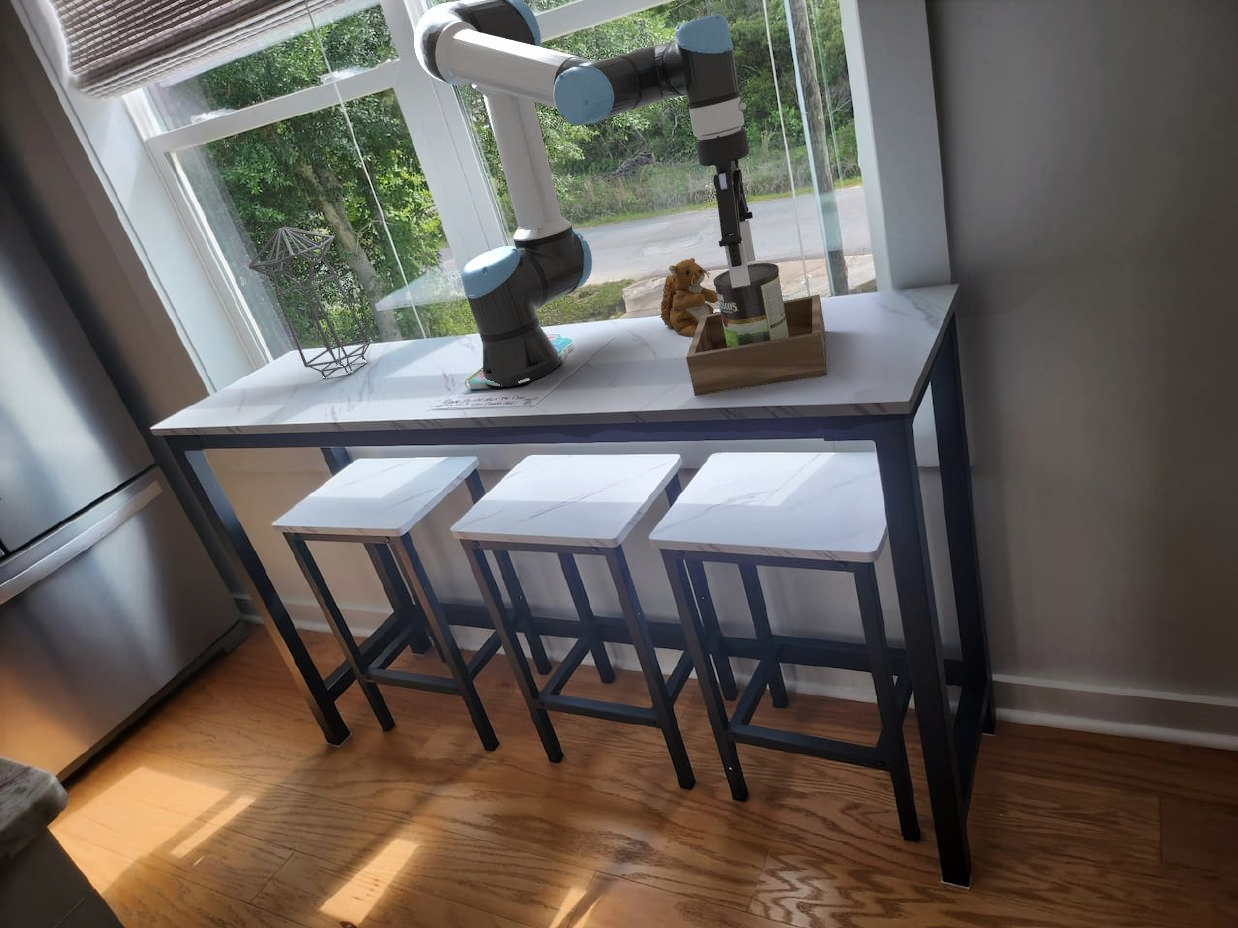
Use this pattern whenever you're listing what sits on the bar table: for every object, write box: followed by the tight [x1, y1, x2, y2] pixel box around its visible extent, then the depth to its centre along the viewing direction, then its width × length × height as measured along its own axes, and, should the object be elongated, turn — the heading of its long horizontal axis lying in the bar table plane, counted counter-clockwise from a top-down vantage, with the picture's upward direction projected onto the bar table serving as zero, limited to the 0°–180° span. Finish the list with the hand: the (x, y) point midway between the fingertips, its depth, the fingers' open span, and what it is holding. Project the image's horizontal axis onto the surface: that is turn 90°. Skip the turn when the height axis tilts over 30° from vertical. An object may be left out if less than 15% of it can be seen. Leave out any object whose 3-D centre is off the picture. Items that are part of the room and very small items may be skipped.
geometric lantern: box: [248, 226, 371, 377], centre depth 197 cm, size 16×16×35 cm
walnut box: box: [685, 294, 828, 397], centre depth 139 cm, size 20×20×6 cm
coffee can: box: [713, 262, 789, 348], centre depth 137 cm, size 10×10×14 cm
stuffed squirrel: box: [659, 257, 720, 338], centre depth 166 cm, size 10×14×13 cm
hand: (744, 273), depth 135 cm, fingers open, 13 cm apart
